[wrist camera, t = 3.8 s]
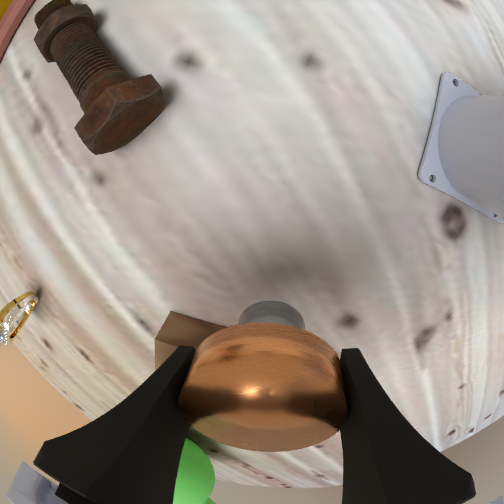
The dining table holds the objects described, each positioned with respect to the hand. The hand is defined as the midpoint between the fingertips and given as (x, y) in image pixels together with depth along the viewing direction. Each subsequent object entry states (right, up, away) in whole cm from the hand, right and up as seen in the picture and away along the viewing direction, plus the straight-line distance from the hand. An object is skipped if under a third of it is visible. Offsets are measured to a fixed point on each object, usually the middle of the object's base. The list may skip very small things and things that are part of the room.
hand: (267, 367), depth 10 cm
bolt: (-11, +19, +4) cm, 22 cm away
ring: (-26, -1, +15) cm, 30 cm away
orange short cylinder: (0, +1, +2) cm, 2 cm away
